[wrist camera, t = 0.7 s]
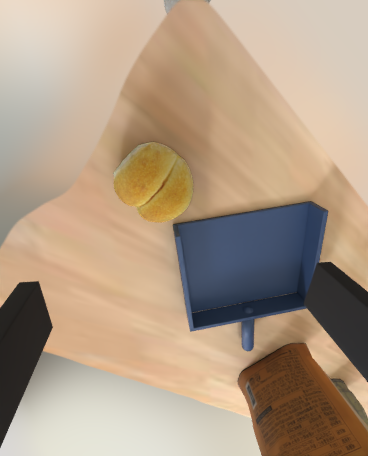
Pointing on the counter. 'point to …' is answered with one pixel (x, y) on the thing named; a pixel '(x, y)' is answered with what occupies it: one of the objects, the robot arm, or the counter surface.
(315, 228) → the scoop
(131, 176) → the bread roll
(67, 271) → the counter surface
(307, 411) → the pancake mix bag
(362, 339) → the robot arm
